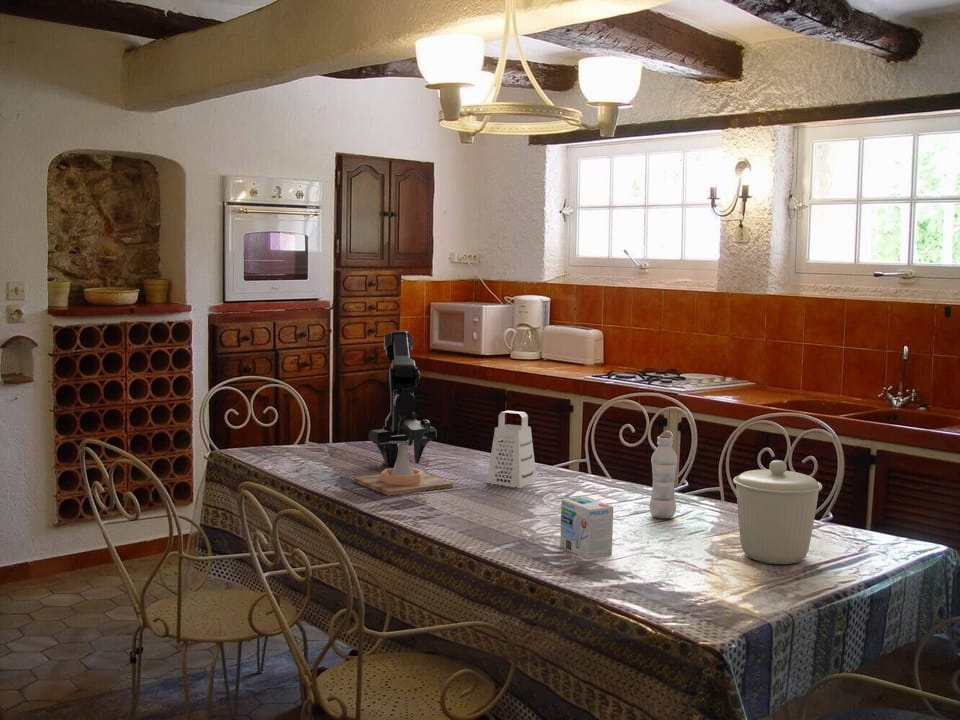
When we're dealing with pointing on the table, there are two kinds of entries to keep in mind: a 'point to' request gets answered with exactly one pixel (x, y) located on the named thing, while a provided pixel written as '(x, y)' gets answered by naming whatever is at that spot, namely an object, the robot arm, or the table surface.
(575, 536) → the light bulb box
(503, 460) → the grater
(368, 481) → the board
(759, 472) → the canister
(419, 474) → the ring
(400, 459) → the flask
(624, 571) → the table surface
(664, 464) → the plastic bottle
